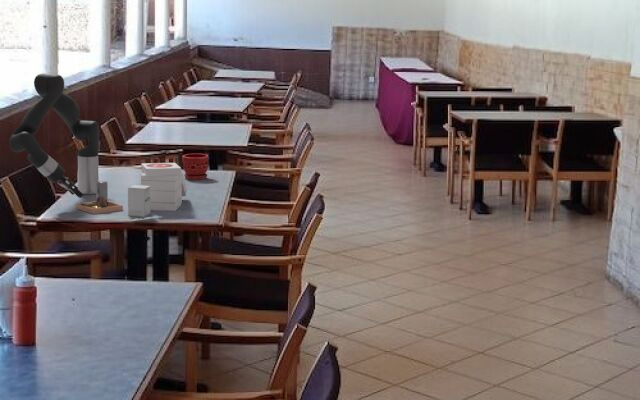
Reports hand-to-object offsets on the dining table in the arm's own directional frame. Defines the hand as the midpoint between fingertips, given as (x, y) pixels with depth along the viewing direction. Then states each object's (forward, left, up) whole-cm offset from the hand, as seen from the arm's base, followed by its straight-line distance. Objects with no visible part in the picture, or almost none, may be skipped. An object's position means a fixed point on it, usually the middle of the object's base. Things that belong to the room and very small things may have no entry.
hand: (77, 194), depth 420 cm
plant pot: (-41, +90, -8) cm, 99 cm away
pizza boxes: (+6, +39, -8) cm, 40 cm away
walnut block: (+1, +4, -6) cm, 8 cm away
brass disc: (+7, +4, -6) cm, 11 cm away
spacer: (+2, +10, -6) cm, 12 cm away
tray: (+4, +8, -7) cm, 11 cm away
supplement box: (+22, +16, -8) cm, 28 cm away
